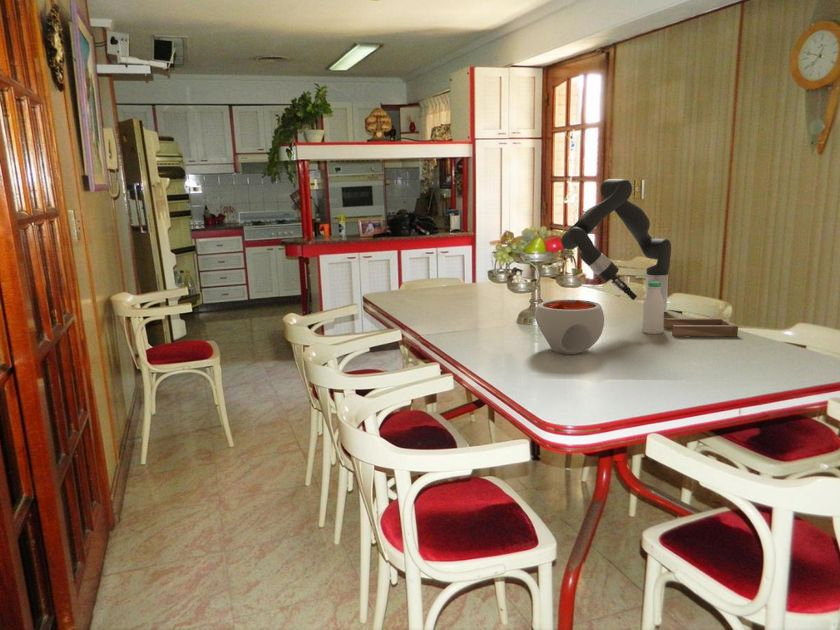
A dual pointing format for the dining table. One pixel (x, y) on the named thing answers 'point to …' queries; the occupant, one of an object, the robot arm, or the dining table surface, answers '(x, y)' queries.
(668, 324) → the walnut U-rest
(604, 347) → the dining table surface
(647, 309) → the milk bottle
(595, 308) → the pot
